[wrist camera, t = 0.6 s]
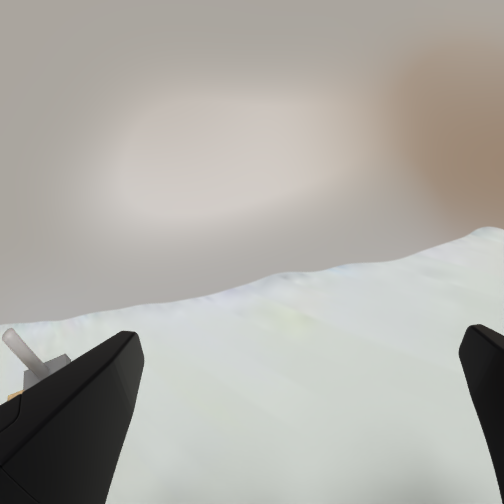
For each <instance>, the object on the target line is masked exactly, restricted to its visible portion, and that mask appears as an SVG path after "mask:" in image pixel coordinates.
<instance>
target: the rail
mask: <svg viewBox="0 0 504 504" xmlns="http://www.w3.org/2000/svg"><path fill="white" fill-rule="evenodd" d="M2 340H3V341H4V343H5V344H6V345H7V346H8V347H9V348H10V349H11V350H12V351H13V353H14V354H15V355H16V356H17V357H18V358H19V359H20V360H21V361H22V362H23V363H24V364H25V365H26V366H27V367H28V368H29V370H27V371H24V387H23V390H24V391H25V390H27V389H28V388H30V387H31V386H33V385H35V384H36V383H38V382H40V381H41V380H43V379H44V378H46V377H48V376H49V375H51V374H53V373H54V372H56V371H57V370H59V369H61V368H62V367H64V366H65V365H67V364H69V363H70V362H71V359H70V358H69V357H68V356H67V355H66V354H64V355H61V356H59V357H57V358H54V359H52V360H50V361H48V362H45V363H43V362H42V361H41V360H40V359H39V358H38V357H37V356H36V355H35V354H34V352H33V351H32V350H31V349H30V348H29V347H28V346H27V345H26V343H25V342H24V341H23V340H22V339H21V338H20V336H19V335H18V334H17V333H16V332H15V330H14V329H13V328H10V329H8V330H7V331H6V332H5V333H4V334H3V337H2Z"/></svg>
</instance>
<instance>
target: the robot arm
mask: <svg viewBox="0 0 504 504" xmlns="http://www.w3.org/2000/svg"><path fill="white" fill-rule="evenodd" d="M459 358H460V361H461V364H462V367H463V371H464V374H465V377H466V381H467V384H468V388H469V392H470V395H471V398H472V401H473V404H474V407H475V410H476V412H477V415H478V418H479V421H480V424H481V427H482V430H483V433H484V436H485V439H486V442H487V445H488V449H489V452H490V455H491V459H492V462H493V466H494V470H495V473H496V477H497V481H498V485H499V490H500V494H501V499H502V503H503V504H504V336H503V335H501V334H499V333H497V332H495V331H494V330H492V329H490V328H488V327H486V326H484V325H481V324H477V325H471V326H469V327H468V328H467V330H466V332H465V335H464V337H463V340H462V343H461V345H460V348H459ZM143 367H144V354H143V351H142V347H141V343H140V339H139V336H138V334H137V333H136V332H132V331H121V332H119V333H117V334H116V335H114V336H113V337H111V338H109V339H108V340H106V341H104V342H103V343H101V344H100V345H98V346H96V347H95V348H93V349H91V350H90V351H88V352H87V353H85V354H83V355H82V356H80V357H78V358H77V359H75V360H74V361H72V362H70V363H69V364H67V365H65V366H64V367H62V368H61V369H59V370H57V371H56V372H54V373H53V374H51V375H49V376H48V377H46V378H44V379H43V380H41V381H40V382H38V383H36V384H35V385H33V386H31V387H30V388H28V389H27V390H25V391H23V392H22V394H18V395H17V396H15V397H14V398H12V399H10V400H9V401H7V402H5V403H4V404H2V405H0V504H105V502H106V499H107V495H108V492H109V488H110V485H111V482H112V478H113V475H114V472H115V468H116V465H117V462H118V459H119V455H120V452H121V449H122V446H123V443H124V440H125V437H126V434H127V431H128V428H129V425H130V422H131V419H132V415H133V412H134V408H135V403H136V398H137V394H138V389H139V385H140V380H141V376H142V371H143Z"/></svg>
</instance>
